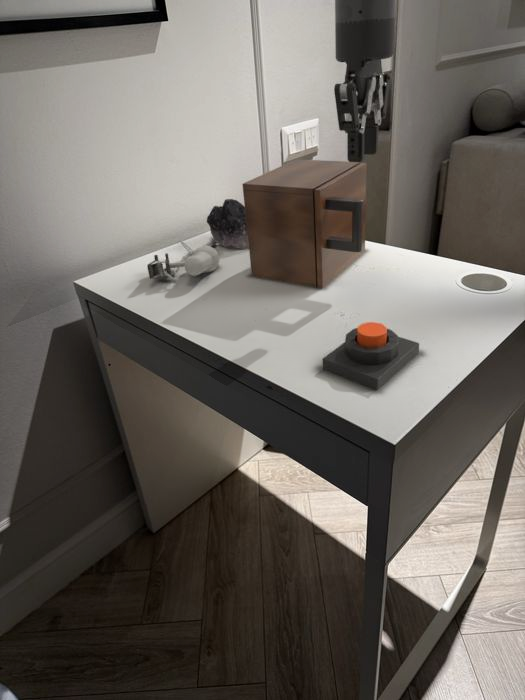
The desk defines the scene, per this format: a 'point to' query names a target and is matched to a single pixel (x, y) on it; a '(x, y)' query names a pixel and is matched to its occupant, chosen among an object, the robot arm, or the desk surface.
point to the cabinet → (287, 219)
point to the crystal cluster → (229, 224)
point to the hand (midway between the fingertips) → (362, 156)
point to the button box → (370, 359)
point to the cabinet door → (340, 223)
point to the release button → (371, 334)
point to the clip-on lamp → (187, 262)
